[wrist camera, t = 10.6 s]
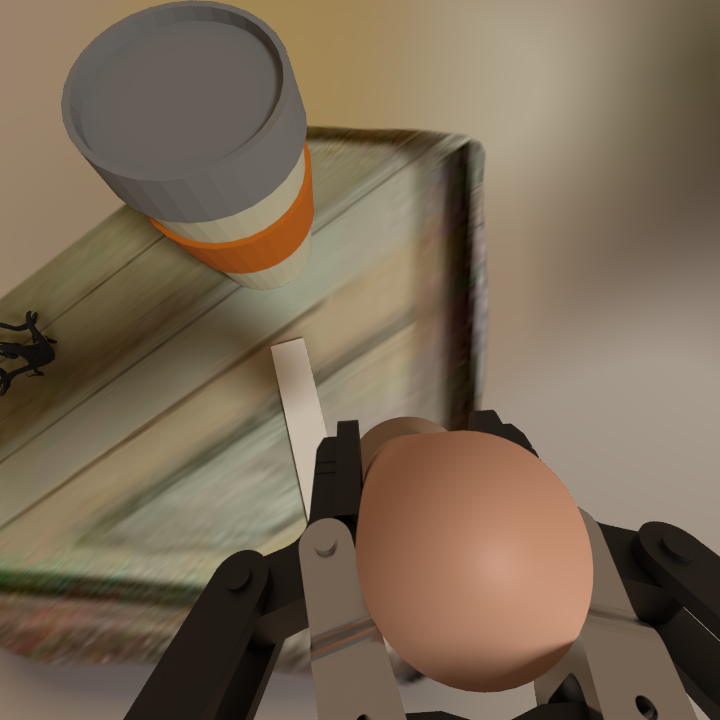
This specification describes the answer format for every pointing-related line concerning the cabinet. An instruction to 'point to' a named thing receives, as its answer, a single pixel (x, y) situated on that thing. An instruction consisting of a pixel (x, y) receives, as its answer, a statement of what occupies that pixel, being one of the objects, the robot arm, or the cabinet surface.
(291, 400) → the strip
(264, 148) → the reusable coffee cup
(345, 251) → the cabinet surface
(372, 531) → the pin
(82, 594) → the cabinet surface
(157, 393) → the cabinet surface
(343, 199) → the cabinet surface
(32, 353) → the creature
